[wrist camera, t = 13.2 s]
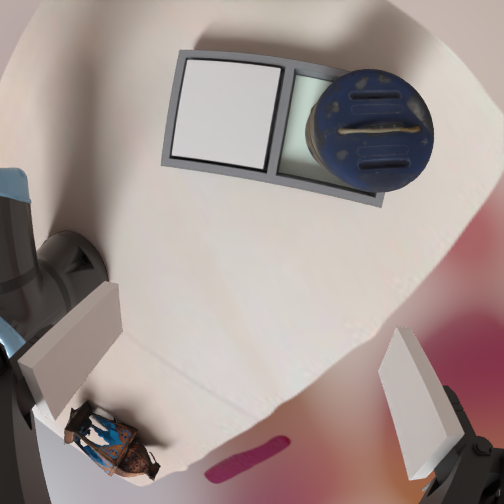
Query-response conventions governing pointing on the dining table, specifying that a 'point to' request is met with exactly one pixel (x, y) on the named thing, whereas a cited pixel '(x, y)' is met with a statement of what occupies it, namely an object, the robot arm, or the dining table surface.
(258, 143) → the grey divided tray
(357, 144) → the canister
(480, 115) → the dining table surface
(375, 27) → the dining table surface
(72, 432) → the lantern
